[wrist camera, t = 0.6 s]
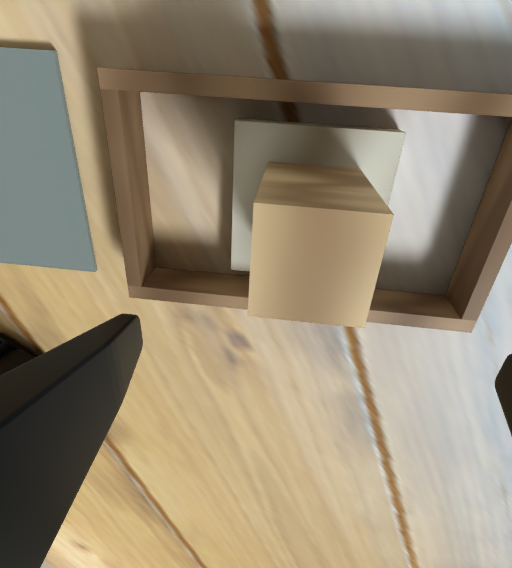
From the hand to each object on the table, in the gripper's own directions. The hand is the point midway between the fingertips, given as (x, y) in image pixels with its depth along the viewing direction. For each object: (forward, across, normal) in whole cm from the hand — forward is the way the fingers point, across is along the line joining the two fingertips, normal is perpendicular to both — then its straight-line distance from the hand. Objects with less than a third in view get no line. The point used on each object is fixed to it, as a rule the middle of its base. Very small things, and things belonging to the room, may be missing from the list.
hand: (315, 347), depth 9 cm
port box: (+13, 0, 0) cm, 13 cm away
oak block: (+11, 0, 0) cm, 11 cm away
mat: (+13, +19, 0) cm, 23 cm away
